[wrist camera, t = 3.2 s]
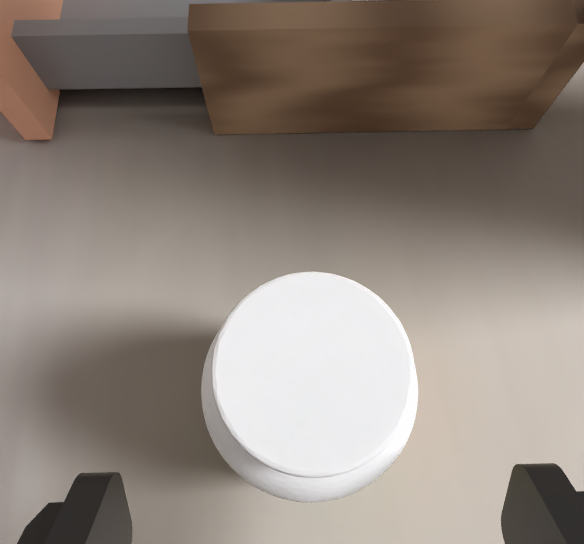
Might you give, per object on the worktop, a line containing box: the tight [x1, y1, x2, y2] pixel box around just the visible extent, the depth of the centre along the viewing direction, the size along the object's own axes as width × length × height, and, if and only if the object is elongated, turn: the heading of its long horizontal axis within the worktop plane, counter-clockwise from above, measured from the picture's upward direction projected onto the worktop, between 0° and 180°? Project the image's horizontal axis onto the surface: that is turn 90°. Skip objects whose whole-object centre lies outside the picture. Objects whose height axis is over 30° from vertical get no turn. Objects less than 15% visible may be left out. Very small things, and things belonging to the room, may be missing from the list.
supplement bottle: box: [201, 271, 418, 502], centre depth 14 cm, size 5×5×10 cm
